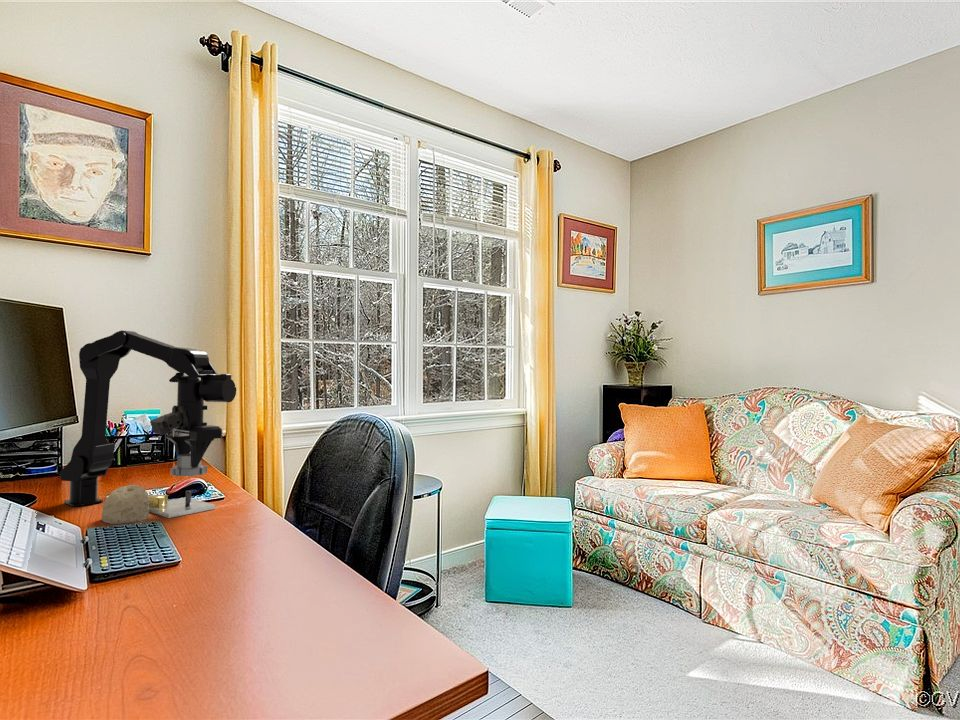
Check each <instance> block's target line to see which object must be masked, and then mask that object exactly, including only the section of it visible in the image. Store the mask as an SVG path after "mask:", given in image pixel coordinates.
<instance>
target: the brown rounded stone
mask: <svg viewBox="0 0 960 720" xmlns="http://www.w3.org/2000/svg"><path fill="white" fill-rule="evenodd" d="M148 496H149V492H148V491H146V489H145V487H142V486H140V485H137V484H128V485H125V486H121V487H117V488H115V490H112V491H111V492H110V494H108V495H107V497H106V498H105V501H104V503H103V504H102V511H101V512H102V513H101V521H102V522H103V523H107V524H112V525H113V524H115V525H118V524H119V525H120V524H127V523H128V524H129V523H137V522H141V521H142V522H143V521H145V520H146V519H148V518H149V517H150V512H149V497H148Z"/></svg>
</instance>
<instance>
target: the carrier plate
mask: <svg viewBox="0 0 960 720" xmlns="http://www.w3.org/2000/svg"><path fill="white" fill-rule="evenodd" d="M148 497H149V513H153V514H156V515H158V516H161V517H164V518H167V519H172V518H177V517H181V516H187V515H191V514H196V513H201V512H205V511H207V512H208V511H211V510H215V509H216V505H215V504H213V503H210V502H206V501H203V500H199V499H195V498H193V497H192V490H186V491H185V496H184V497H180V498H179V497H178V498H174V499H169V498H168V497H169V495H168V494H148Z"/></svg>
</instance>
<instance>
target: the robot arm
mask: <svg viewBox="0 0 960 720" xmlns="http://www.w3.org/2000/svg"><path fill="white" fill-rule="evenodd" d="M131 351H134V352H138V353H141V354H143V355H146V356H148V357H151V358H154V359H157V360H159V361H162V362H163V363H164V362H165V364H167V366H168V367H169V368H171V369H173V370H175V371H176V373H175V374H174V375H173V376H172V377H171V378H169V380H168V382H169V383H177V395H176V396H177V399H176V405H173V406H172V408H171V412H169V413H166V414H163V415H161V416H159V417H156V418H154V419H151V420H150V421H149V423H150V426H151V429H152V431H153V434H154V435H157V434H158V435H160V436H165V435H166V436H165V438H166V439H167V440H169V441H170V442H172V443H173V445H174V447H175V452H176V454H177V456H178V455H180V454H188V453H190V454H191V464H192V467H193V468H196V467H198V465H199V463H200V461H201V462H202V459H203V457H204V455H205V453H207V452H206V451H207V449H208V448H209V447H210V445H211V443H213V441H215V440H216V439H222V438H223V429H222V428H221V427H220V426H219V425H208V422H205V421H204V411H205V410H206V411H207V410H208V405H206V404H205V403H204V402H206V403H232V402H233V401H234V400H235V398H236V395H237V387H236V383H235V382H234V380H233V379H232V374H231V373H221V374H218V372H217V370H216V369H215V368H214V366H213V365H212V363H211V362H210V361H211V360H210V358H209V355H208V353H207V352H206V351H204V350H202V349H196V348H195V349H194V348H189V347H187V348H186V347H179V346H174V345H172V344H169V343H165V342H162V341H159V340H157V339H155V338H151V337H148V336H145V335H142V334H139V333H137V332H136V331H133V330H119V331H116V332H114V333H112V334H110V335H109V336H108V335H107V336H106V337H103V338H100V339H99V338H98V339H97V340H95V341H93V342H88V343H86V344H84V345H83V346H82V347H80V349H79V353H78V358H79V360H78V362H79V368H80V370H81V372H82V374H83V375H84V378H85V389H84V390H85V391H84V402H83V414H82V415H83V416H82V425H81V426H82V427H81V437H80V439H79V440H78V441H77V443H76V444H75V446H73V450H72V452H71V453H72V454H71V457H70V461H69V462H68V463H67V464H66V465H65V466H64V467H63V468H62V469H61V470H60V471H59V477H60V480H61V481H62V482H69V500H68V499H67V500H63V504H65V505H68V506H71V507H80V506H86V505H87V506H88V505H93V504H94V505H95V504H99V503H103V502H104V500H103V499H101V498H98V492H99V491H98V485H99V483H98V482H99V481H98V480H99V477H103V476H106V475H107V472H108V469H109V467H110V466H112V462H113V460H115V456H114V455H115V453H114V452H115V447H116V446H115V443H110V442H109V440H108V438H107V436H106V435H107V433H106V432H107V423H108V420H107V419H108V409H109V398H110V397H109V396H110V383H111V379H112V378H113V376H114V375H115V374H116V372H117V370H118V368H119V365H120V364H119V363H120V360H122V359H123V358H125V357H127V356H128V355H130V352H131ZM199 378H200V379H199ZM204 404H205V405H204ZM167 434H168V435H167Z"/></svg>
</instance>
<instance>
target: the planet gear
mask: <svg viewBox="0 0 960 720" xmlns="http://www.w3.org/2000/svg"><path fill="white" fill-rule="evenodd" d="M176 459H177V460H176V462H177V463H176V464H177V465H174V466H173V467H171V468H170V476H175V477H194V476H200V475H201V476H202V475H205V474H206V473H208V465H207V464H206V465H203V464H202V460H201V461H200V463H199V465H198V467H196V468H193V467H192V464H191V454H190V453H188V454H180V455H178V454H177V458H176Z"/></svg>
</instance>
